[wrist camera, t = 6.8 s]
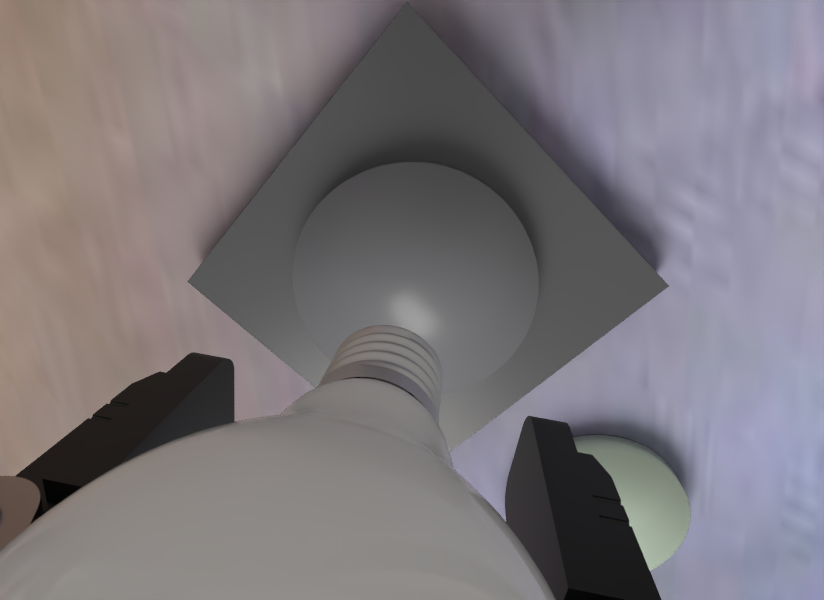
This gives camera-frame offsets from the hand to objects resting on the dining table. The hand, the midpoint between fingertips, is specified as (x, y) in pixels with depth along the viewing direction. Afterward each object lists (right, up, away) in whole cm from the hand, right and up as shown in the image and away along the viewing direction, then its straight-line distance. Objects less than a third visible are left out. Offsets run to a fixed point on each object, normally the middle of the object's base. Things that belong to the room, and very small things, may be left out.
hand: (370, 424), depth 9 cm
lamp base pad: (+1, +4, +9) cm, 10 cm away
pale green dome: (+9, -7, +13) cm, 17 cm away
